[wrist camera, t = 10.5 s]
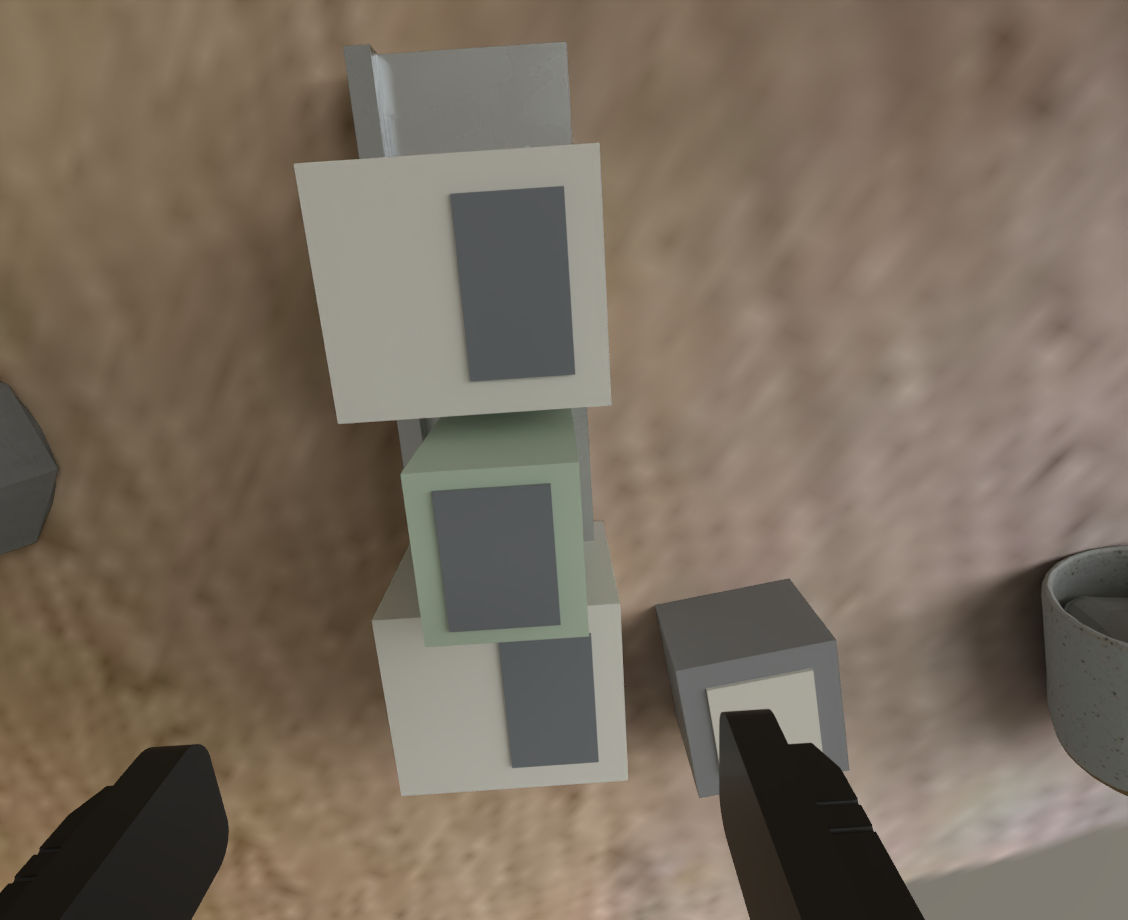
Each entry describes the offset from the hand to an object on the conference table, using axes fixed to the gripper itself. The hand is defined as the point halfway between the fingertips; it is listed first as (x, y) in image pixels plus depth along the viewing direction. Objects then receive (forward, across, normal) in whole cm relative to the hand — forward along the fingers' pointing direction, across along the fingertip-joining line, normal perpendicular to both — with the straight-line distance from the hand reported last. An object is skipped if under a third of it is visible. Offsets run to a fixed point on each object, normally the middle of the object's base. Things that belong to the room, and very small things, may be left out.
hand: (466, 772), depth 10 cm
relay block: (+18, -9, +10) cm, 22 cm away
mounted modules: (+17, +1, 0) cm, 17 cm away
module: (+15, 0, 0) cm, 15 cm away
